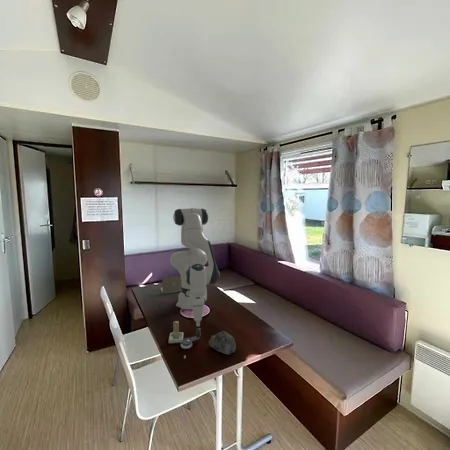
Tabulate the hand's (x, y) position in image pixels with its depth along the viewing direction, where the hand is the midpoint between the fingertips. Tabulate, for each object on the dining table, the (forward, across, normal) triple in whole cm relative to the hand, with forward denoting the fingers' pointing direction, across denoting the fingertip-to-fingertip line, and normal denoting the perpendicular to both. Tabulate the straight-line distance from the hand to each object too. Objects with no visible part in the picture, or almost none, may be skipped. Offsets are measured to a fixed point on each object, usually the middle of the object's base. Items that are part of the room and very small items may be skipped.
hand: (198, 321), depth 135 cm
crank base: (+12, +7, -6) cm, 15 cm away
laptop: (+10, -78, -24) cm, 82 cm away
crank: (+10, +1, -4) cm, 11 cm away
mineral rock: (+12, +7, +12) cm, 18 cm away
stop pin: (+11, -3, -12) cm, 17 cm away
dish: (+11, -3, -12) cm, 17 cm away
